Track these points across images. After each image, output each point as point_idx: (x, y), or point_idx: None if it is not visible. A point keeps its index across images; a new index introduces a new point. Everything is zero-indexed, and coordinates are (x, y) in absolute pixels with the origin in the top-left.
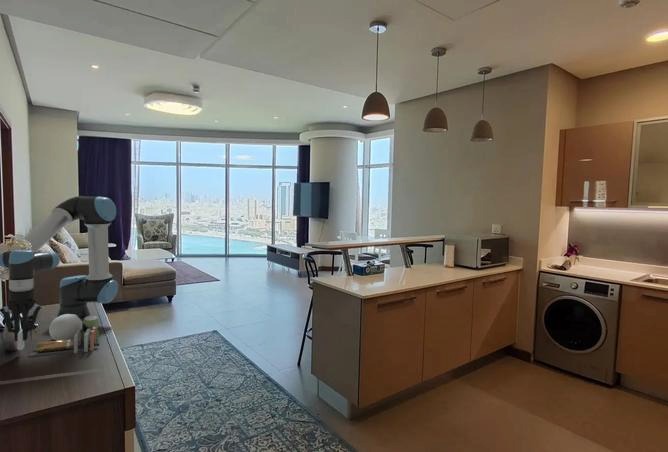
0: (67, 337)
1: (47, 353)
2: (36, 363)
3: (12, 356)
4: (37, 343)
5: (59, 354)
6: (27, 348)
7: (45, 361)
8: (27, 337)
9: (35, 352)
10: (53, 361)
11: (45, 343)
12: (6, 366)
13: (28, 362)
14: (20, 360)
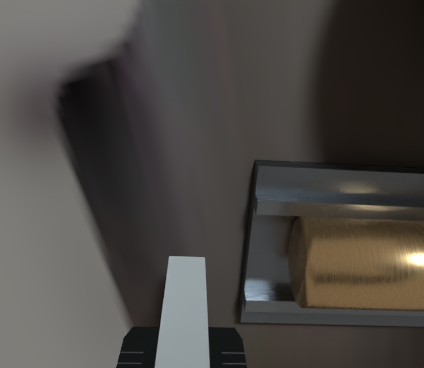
0: None
1: (356, 313)
2: (290, 359)
3: (123, 191)
4: (312, 296)
5: (419, 318)
6: (187, 24)
7: (334, 347)
8: (242, 352)
9: (274, 228)
10: (374, 360)
11: (373, 304)
12: None
13: (247, 332)
14: None
